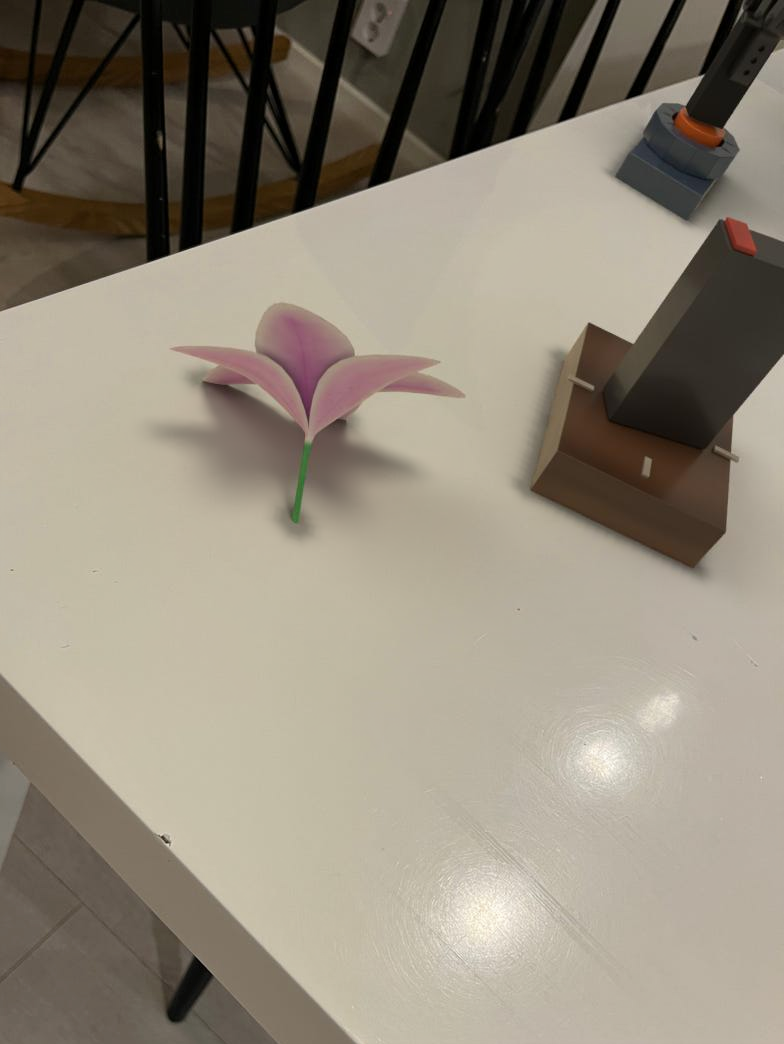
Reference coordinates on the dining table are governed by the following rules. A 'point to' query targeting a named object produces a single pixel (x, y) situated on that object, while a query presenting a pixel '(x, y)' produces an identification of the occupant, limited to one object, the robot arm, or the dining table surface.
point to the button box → (675, 163)
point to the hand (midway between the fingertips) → (703, 117)
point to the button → (698, 129)
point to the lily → (315, 372)
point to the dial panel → (629, 462)
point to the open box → (705, 340)
